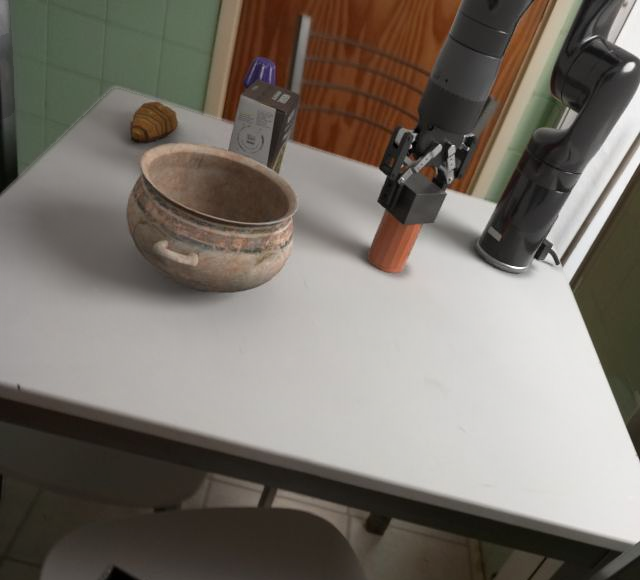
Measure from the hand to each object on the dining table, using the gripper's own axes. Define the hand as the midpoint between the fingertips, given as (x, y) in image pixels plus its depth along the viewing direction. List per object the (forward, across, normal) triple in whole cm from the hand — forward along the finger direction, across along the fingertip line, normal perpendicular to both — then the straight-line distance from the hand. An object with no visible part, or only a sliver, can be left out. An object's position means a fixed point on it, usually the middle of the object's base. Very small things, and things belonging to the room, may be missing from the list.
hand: (408, 205), depth 94 cm
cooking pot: (+9, -30, +1) cm, 31 cm away
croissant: (+9, -19, +38) cm, 43 cm away
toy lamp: (+9, -10, +26) cm, 29 cm away
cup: (+9, 0, 0) cm, 9 cm away
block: (+1, 0, 0) cm, 1 cm away
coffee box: (+9, -15, +16) cm, 24 cm away
